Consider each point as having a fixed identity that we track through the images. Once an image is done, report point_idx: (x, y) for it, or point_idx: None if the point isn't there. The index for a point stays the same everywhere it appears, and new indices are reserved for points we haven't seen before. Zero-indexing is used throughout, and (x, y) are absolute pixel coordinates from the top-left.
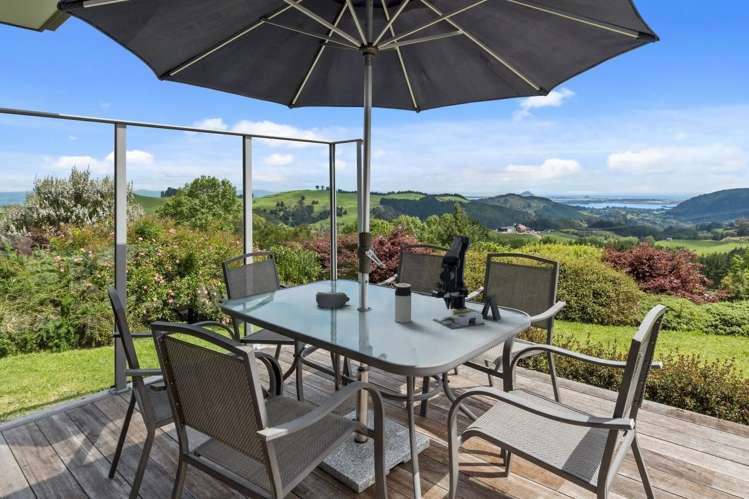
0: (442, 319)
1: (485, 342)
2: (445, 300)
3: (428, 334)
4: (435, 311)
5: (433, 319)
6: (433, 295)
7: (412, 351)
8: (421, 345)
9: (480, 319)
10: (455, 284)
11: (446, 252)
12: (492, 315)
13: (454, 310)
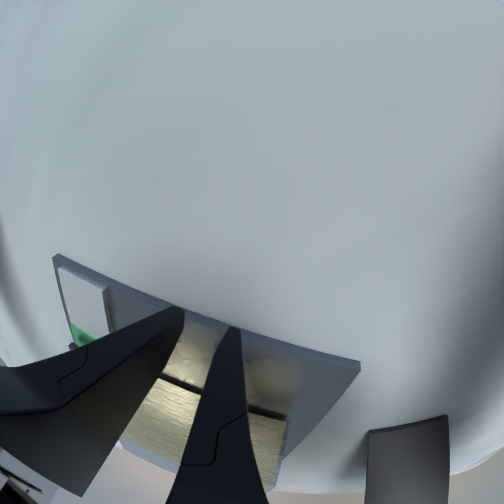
0: (89, 324)
1: None
2: (57, 383)
3: (27, 342)
4: (241, 17)
5: (54, 266)
6: None
7: (7, 354)
8: (16, 357)
9: None
10: None
11: None
12: (366, 484)
13: (124, 431)
